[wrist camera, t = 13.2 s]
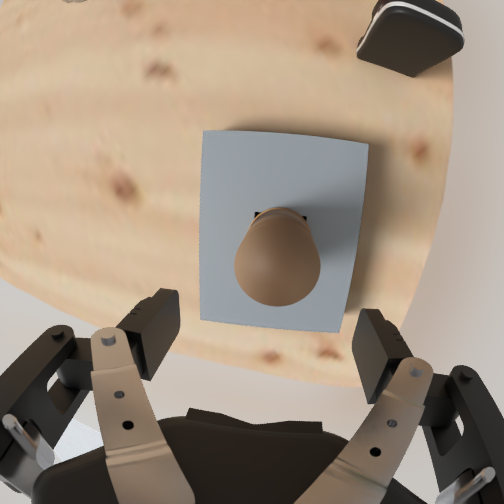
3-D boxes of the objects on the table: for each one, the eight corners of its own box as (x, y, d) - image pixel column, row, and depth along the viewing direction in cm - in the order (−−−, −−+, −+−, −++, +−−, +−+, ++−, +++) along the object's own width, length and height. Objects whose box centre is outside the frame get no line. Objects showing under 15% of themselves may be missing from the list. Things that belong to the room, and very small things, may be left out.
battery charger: (415, 52, 19) (468, 12, 8) (414, 80, 21) (474, 47, 10) (355, 30, 20) (387, -28, 9) (353, 58, 21) (389, 5, 10)
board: (209, 303, 30) (200, 319, 27) (213, 134, 25) (203, 130, 22) (334, 315, 29) (339, 332, 26) (358, 146, 24) (368, 144, 20)
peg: (249, 255, 28) (231, 302, 18) (253, 200, 26) (235, 220, 17) (305, 260, 27) (314, 310, 18) (311, 205, 26) (326, 228, 16)
